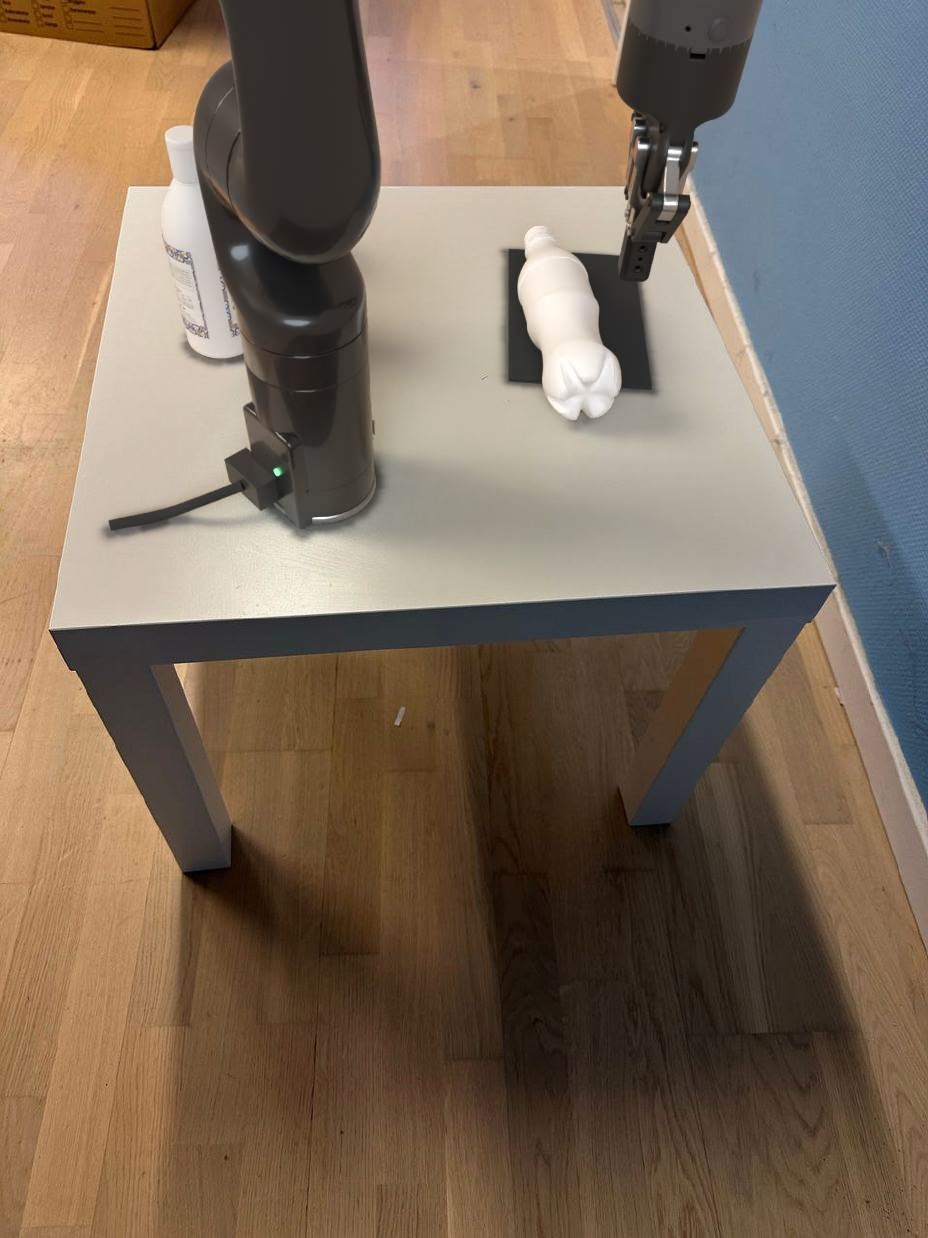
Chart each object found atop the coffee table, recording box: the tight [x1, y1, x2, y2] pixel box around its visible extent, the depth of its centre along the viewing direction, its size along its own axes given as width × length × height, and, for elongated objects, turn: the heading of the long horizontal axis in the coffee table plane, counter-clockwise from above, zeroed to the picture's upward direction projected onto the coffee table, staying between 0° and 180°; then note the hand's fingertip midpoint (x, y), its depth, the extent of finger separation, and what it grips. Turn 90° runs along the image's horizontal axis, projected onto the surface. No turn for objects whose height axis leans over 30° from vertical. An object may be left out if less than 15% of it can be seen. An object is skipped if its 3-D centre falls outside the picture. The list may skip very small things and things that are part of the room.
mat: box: [508, 248, 653, 390], centre depth 94 cm, size 22×14×1 cm, turn 178°
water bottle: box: [518, 224, 622, 421], centre depth 87 cm, size 7×7×25 cm
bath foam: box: [160, 124, 244, 359], centre depth 81 cm, size 7×7×20 cm
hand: (632, 275), depth 67 cm, fingers closed
